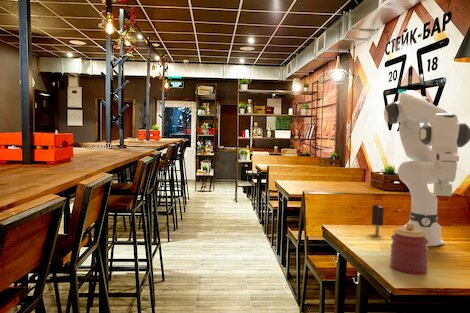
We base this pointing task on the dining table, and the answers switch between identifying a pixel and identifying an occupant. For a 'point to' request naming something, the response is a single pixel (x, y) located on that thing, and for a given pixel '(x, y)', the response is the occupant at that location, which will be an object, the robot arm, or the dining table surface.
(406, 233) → the canister
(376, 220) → the ice cream bar
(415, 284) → the dining table surface
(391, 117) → the robot arm
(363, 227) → the dining table surface
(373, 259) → the dining table surface
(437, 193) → the sage block
